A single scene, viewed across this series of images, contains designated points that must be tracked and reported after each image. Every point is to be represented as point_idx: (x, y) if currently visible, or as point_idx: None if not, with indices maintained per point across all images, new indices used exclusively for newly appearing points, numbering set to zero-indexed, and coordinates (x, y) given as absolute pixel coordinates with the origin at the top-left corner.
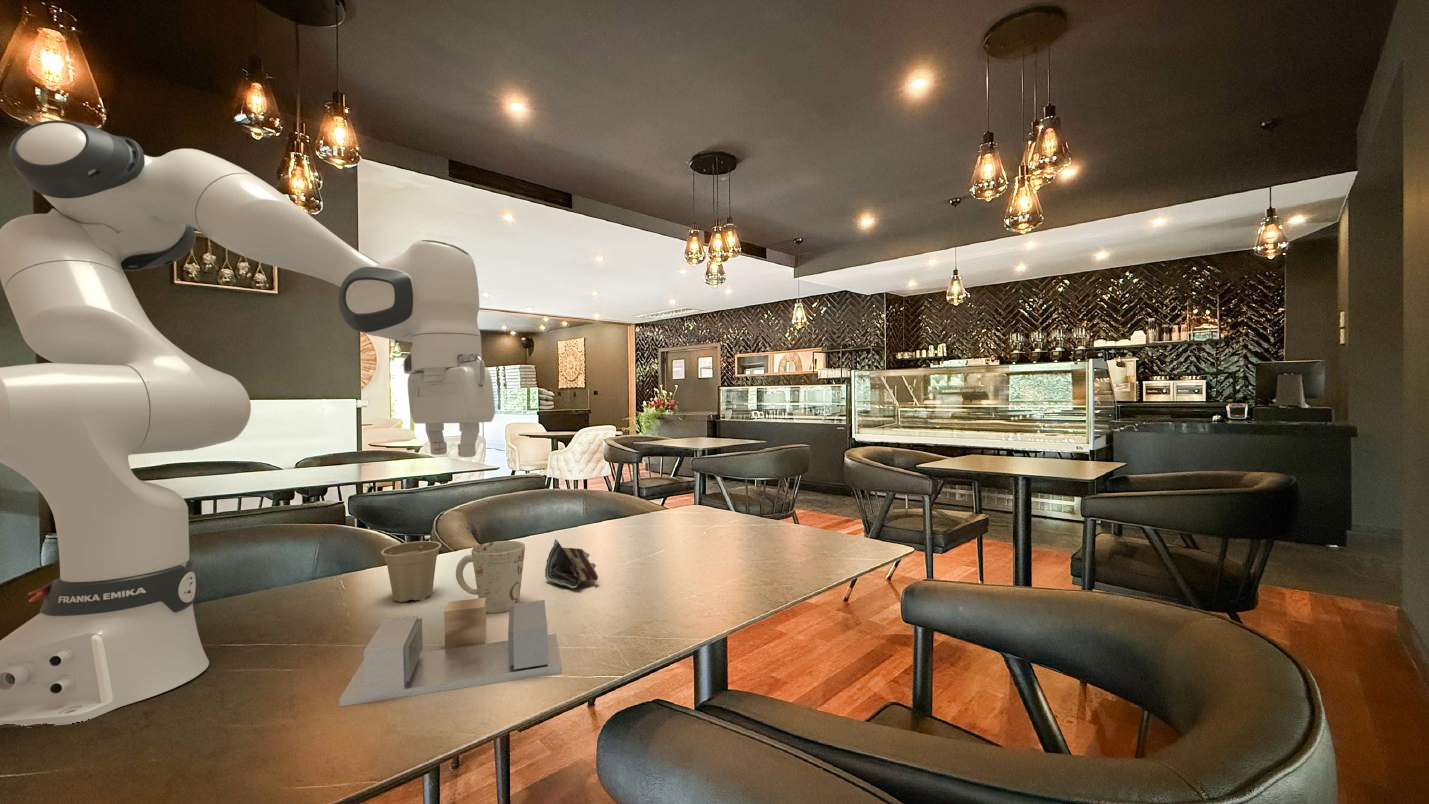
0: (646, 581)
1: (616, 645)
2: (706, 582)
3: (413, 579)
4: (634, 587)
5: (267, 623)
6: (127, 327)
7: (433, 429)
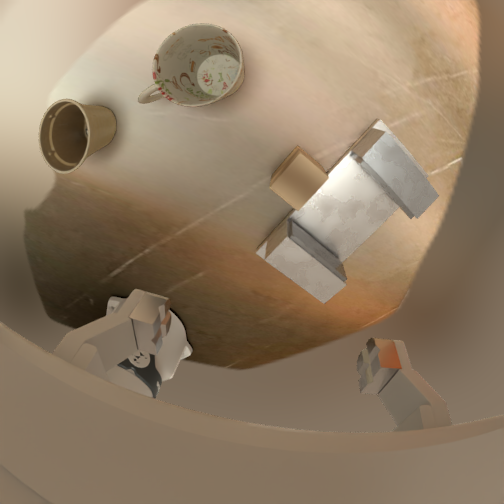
0: None
1: (432, 103)
2: None
3: (103, 138)
4: None
5: (84, 242)
6: None
7: (106, 378)
